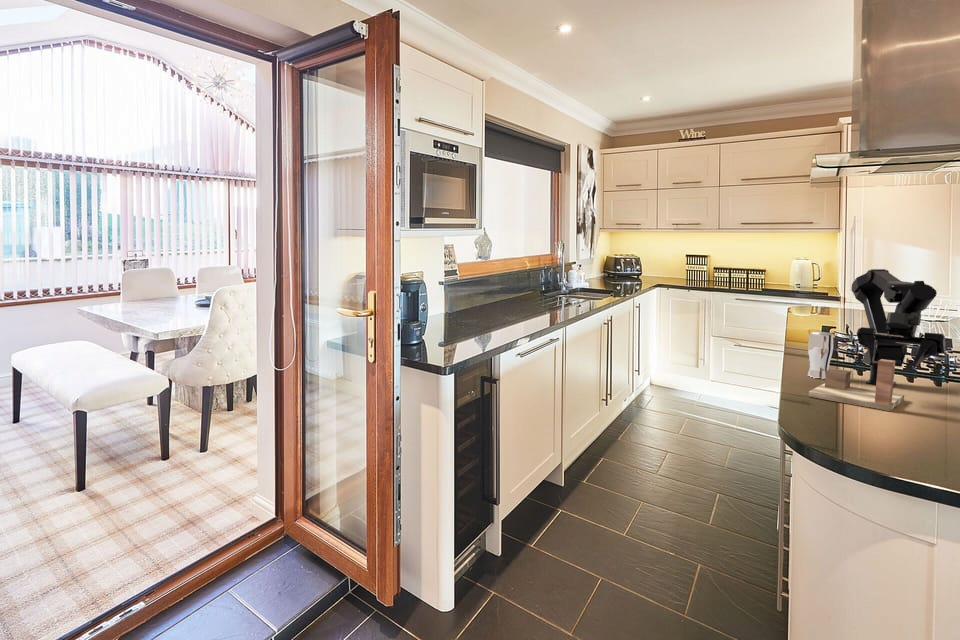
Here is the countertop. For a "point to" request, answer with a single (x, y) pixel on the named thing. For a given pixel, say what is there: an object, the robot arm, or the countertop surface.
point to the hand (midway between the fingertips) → (892, 363)
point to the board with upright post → (866, 391)
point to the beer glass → (819, 353)
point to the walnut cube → (837, 379)
